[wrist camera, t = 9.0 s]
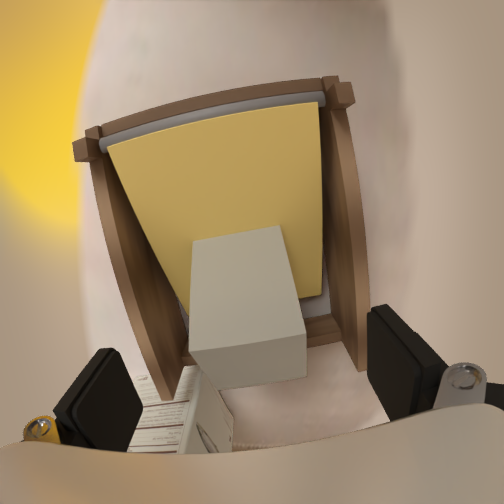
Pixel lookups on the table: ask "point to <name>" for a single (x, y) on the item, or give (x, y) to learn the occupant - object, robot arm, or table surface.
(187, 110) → the trapdoor frame
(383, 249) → the table surface
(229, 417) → the supplement box
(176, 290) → the trapdoor
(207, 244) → the plain grey carton
